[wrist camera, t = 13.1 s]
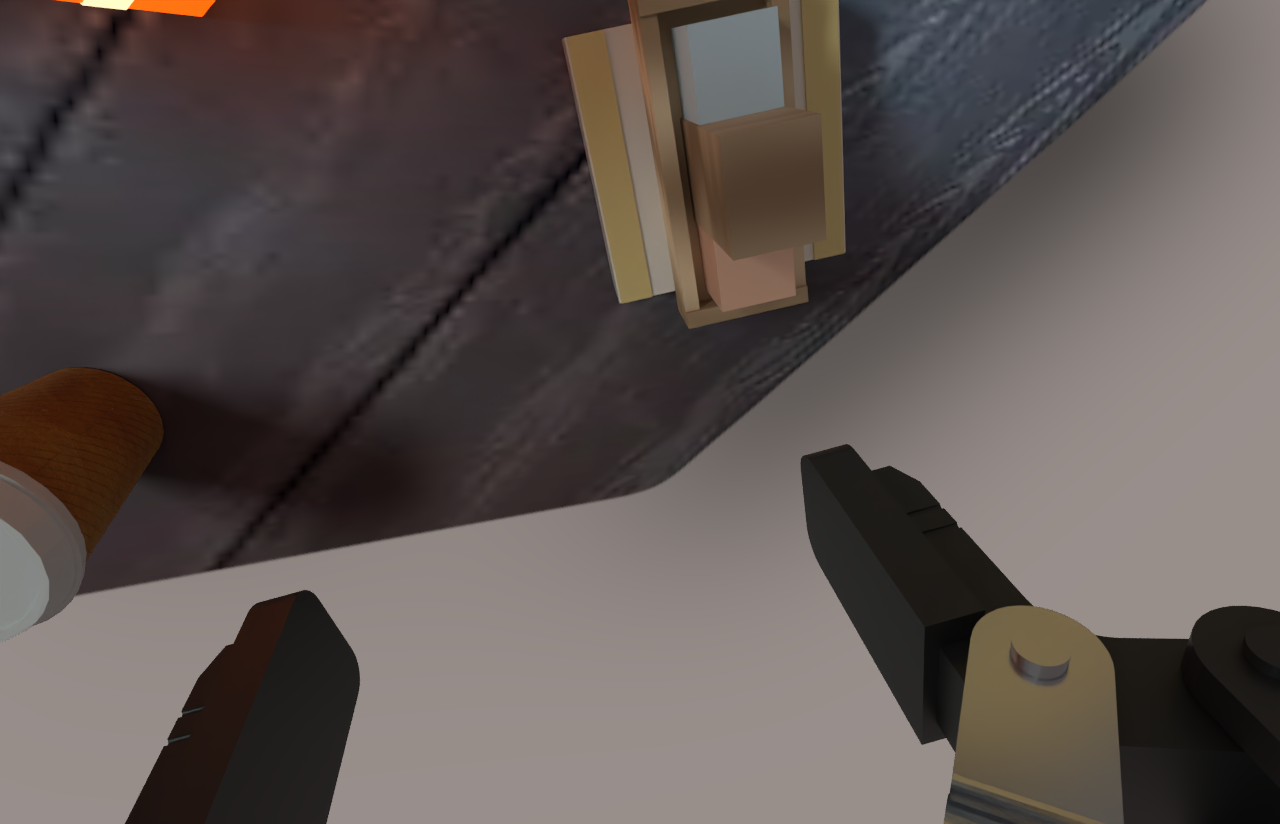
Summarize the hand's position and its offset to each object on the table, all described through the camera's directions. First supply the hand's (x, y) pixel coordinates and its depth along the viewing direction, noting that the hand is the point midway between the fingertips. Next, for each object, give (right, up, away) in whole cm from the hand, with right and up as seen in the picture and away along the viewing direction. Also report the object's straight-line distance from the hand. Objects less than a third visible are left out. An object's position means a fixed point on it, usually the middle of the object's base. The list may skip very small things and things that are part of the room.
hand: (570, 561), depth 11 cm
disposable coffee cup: (-28, +2, +25) cm, 38 cm away
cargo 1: (+4, +17, +17) cm, 24 cm away
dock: (+4, +16, +23) cm, 28 cm away
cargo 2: (+6, +10, +21) cm, 24 cm away
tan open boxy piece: (+5, +14, +20) cm, 25 cm away
